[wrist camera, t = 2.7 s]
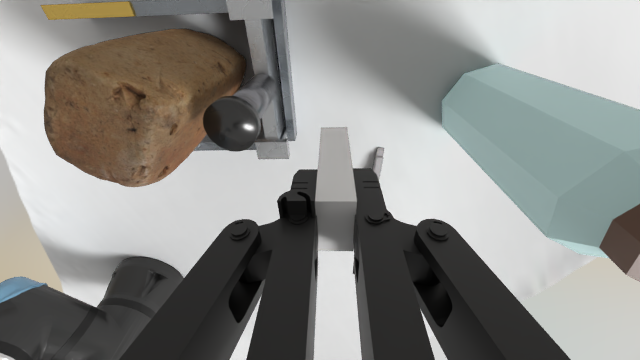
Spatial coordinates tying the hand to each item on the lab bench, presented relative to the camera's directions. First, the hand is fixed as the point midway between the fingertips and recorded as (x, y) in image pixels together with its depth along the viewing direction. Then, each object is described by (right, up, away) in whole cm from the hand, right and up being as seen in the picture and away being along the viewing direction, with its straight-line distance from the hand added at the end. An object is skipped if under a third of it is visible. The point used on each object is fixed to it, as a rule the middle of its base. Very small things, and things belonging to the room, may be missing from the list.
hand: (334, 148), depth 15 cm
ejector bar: (-7, +12, +17) cm, 22 cm away
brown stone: (-15, +12, +18) cm, 26 cm away
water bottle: (+20, +9, +19) cm, 29 cm away
